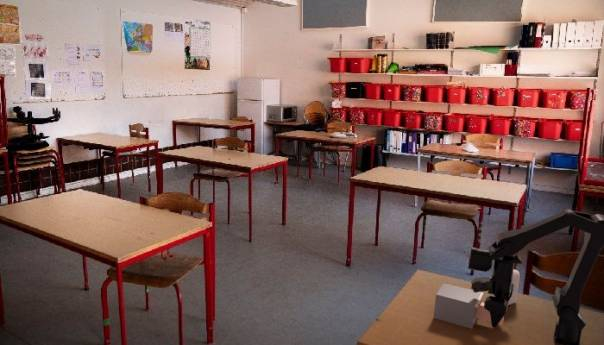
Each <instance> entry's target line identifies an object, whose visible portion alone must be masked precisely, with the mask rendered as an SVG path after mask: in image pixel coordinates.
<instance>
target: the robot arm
mask: <svg viewBox="0 0 604 345" xmlns="http://www.w3.org/2000/svg"><path fill="white" fill-rule="evenodd" d="M568 227H571V228H575V229H577V230H580V231H583V232H584V236H583V237H584V238H583V239H584V240H583V244H582V247H581V249H580V251H579V254H578V256H577V258H576V261H575V263H574V266H573V267H572V270H571V272H570V274H569V277H568V280H567V282H566V284H565V285H563V286H562V288H561V287H559V286H556V288H555V292H554V294H553V296H551V299H552V301H553V302H552V303H553V307H554V310H555V312H556V314H557V317H558V320H557V321H555V326H554V333H553V337H554V338H555V339H554V342H556V343H557V344H561V345H565V344H566V345H581V337H582V332H583V329H585V327H586V325H587V324H586V322H585V319H584V317H583V316H582V313H581V311H580V309H581V303H582V302H581V301H582V292H583V290H584V288H585V285H586V283H587V281H588V279H589V277H590V274H591V271H592V270H593V268H594V265H595V262H596V260H597V258H598V256H599V253H600V252H601V250H603V248H604V215H603V214H600V213H598V214H597V213H595V214H589V213H587V212H583V211H582V212H581V211H576V210H572V209H570V208H566V209H563V210H561V212H558V213H556V214H554V215H552V216H549V217H547V218H544V219H542V220H540V221H537V222H536V223H535V222H534V223H533V224H531V225H528V226H526V227H523V228H519V229H516V228H515V229H511V230H507V231H503V232H500V233H498V235H497V237H496V239H495V241H494V242H493V243H492V244H491V245H490V246H489V247H488V249H484V248H477V247H473V246H471V247H470V251H469V254H468V260H467V270H472V271H477V272H485V273H487V272H489V271H490V270H492V273H491V276H482V277H481V276H479V277H475V278H472V280H471V282H470V283H471V288H470V290H473V292H474V293H477V292H482V293H484V292H487V294H489V296H487V297H486V298H485V299H484V302H483V303H484V308H485V309H486V310H488V311H489V312H490V317H491V322H490V323H491V328H495V329H496V328H497V327H498V325H499V322H500V321H501V319H502V318H503V316H504V317H505V315H506V314H507V312H508V306H509V305H508V301H509V300H510V298H511V296H512V293H513V290H514V285H513V283H512V280H513V271H514V270H515V269H514V268H515V264H518V265H519V264H520V265H522V264H523V262H522V258H521V257H520V256H519V255H518V253H519V252H520V251H522V250H523V249H525V247H526V246H528V245H529V244H531V243H533V242H535V241H538V240H540V239H542V238H544V237H547V236H549V235H551V234H554V233H556V232H559V231H561V230H564V229H566V228H568ZM492 266H493V268H492ZM492 294H493V295H494V296H495V297H493V296H492Z"/></svg>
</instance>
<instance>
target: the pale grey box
mask: <svg viewBox="0 0 604 345" xmlns="http://www.w3.org/2000/svg"><path fill="white" fill-rule="evenodd" d="M484 295H485V293H484V292H477V293H474V292H473V289H471V288H470V289H469V288H466V287H461V286H456V285H454V284H453V285H452V284H450V283H449V284H448V283H442V285H441V286H440V288H439V289H438V291H437V292H436V294H435V303H434V312H433V319H436V320H438V321H443V322H447V323H450V324H454V325H458V326H461V327H464V328H468V329H471V330H473V329H474V326H475V323H476V322H477V318H475V315H476V307H477V308H478V306H479V304H480V302H482V299H483V297H484Z"/></svg>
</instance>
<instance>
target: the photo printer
mask: <svg viewBox="0 0 604 345" xmlns="http://www.w3.org/2000/svg"><path fill="white" fill-rule="evenodd" d="M520 280H521V274H520V272H519V271H518V270H517V269H514V271H513V280H512V283H513V285H514V290H513V293H512V296H511V298H510V300H509V301H508V306H510V305H513V304H515V303H516V302H517V299H518V293H519V285H520ZM491 296H493V297H495V296H494V295H493V294H491Z"/></svg>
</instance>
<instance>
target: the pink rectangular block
mask: <svg viewBox="0 0 604 345" xmlns="http://www.w3.org/2000/svg"><path fill="white" fill-rule="evenodd" d="M484 303H485V302H482V301H481V302H480V304H479V306H478V308H477V307H476V315H475V318H477V319H478V320H481V321H485V322H488V323H491V317H490V312H489V311H488V310H486V309H485V308H484ZM477 319H476V320H477ZM504 319H505V315H504V316H503V318H502V319H501V321H500V322H499V324H498V325H500V326H503V324H504V321H505V320H504Z"/></svg>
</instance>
